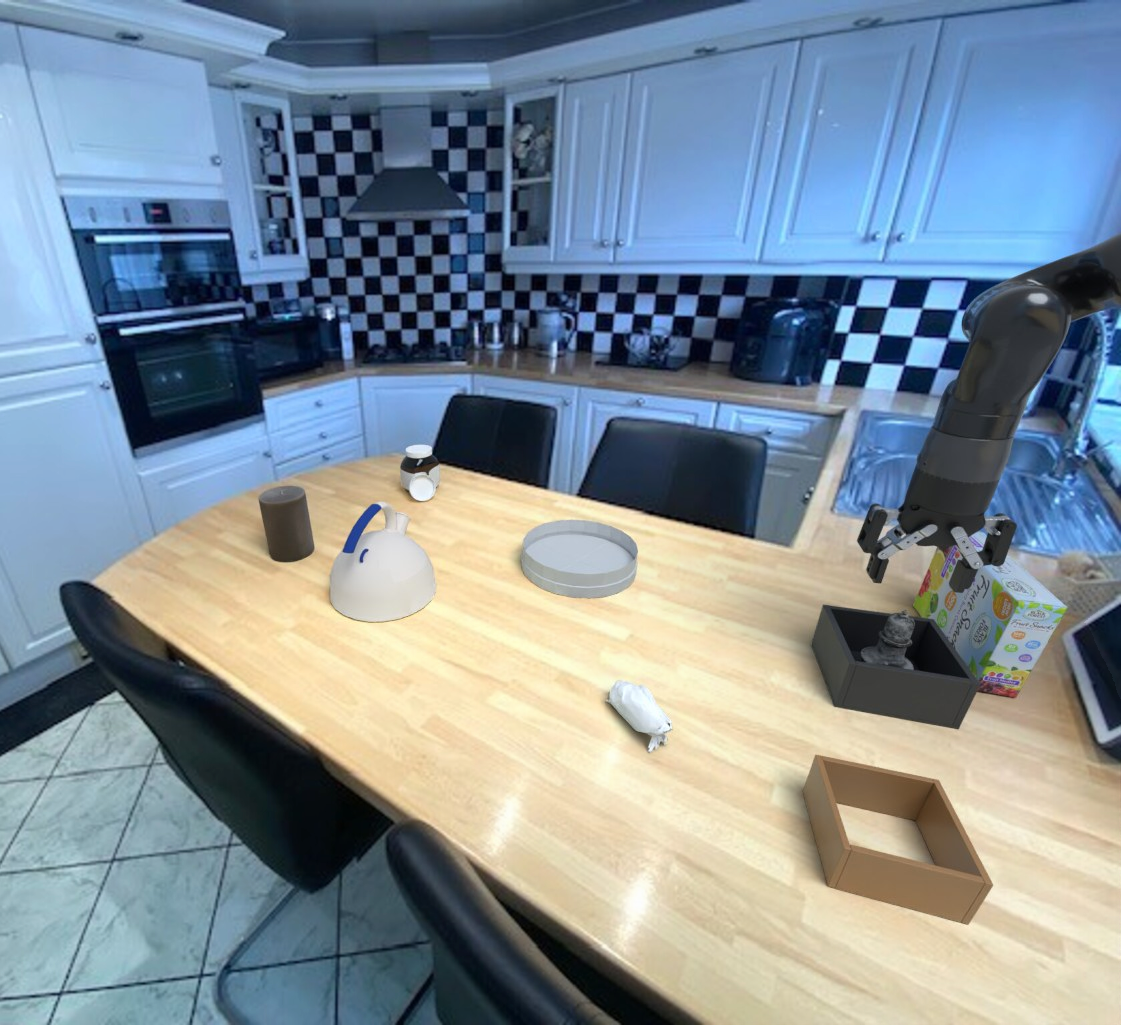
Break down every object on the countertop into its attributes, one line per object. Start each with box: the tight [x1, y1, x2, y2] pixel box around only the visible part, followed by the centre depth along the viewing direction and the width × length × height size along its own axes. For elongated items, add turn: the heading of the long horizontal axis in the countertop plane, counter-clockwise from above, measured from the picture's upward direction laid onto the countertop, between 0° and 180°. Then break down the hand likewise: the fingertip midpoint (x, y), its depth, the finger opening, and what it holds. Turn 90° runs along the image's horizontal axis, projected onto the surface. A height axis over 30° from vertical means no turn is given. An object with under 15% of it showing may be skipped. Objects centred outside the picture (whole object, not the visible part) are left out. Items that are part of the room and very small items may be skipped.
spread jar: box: [399, 444, 441, 502], centre depth 145 cm, size 12×11×12 cm
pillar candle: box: [257, 484, 315, 563], centre depth 119 cm, size 10×10×15 cm
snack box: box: [912, 531, 1068, 698], centre depth 82 cm, size 21×6×15 cm, turn 161°
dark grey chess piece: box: [861, 609, 915, 670], centre depth 76 cm, size 6×6×12 cm
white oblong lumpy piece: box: [605, 680, 674, 753], centre depth 73 cm, size 5×7×10 cm
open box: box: [810, 604, 980, 730], centre depth 77 cm, size 14×14×8 cm
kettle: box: [329, 501, 438, 623], centre depth 102 cm, size 20×21×18 cm
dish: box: [520, 519, 639, 599], centre depth 110 cm, size 22×22×5 cm
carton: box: [802, 754, 994, 925], centre depth 57 cm, size 11×11×6 cm
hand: (914, 584), depth 72 cm, fingers open, 8 cm apart
